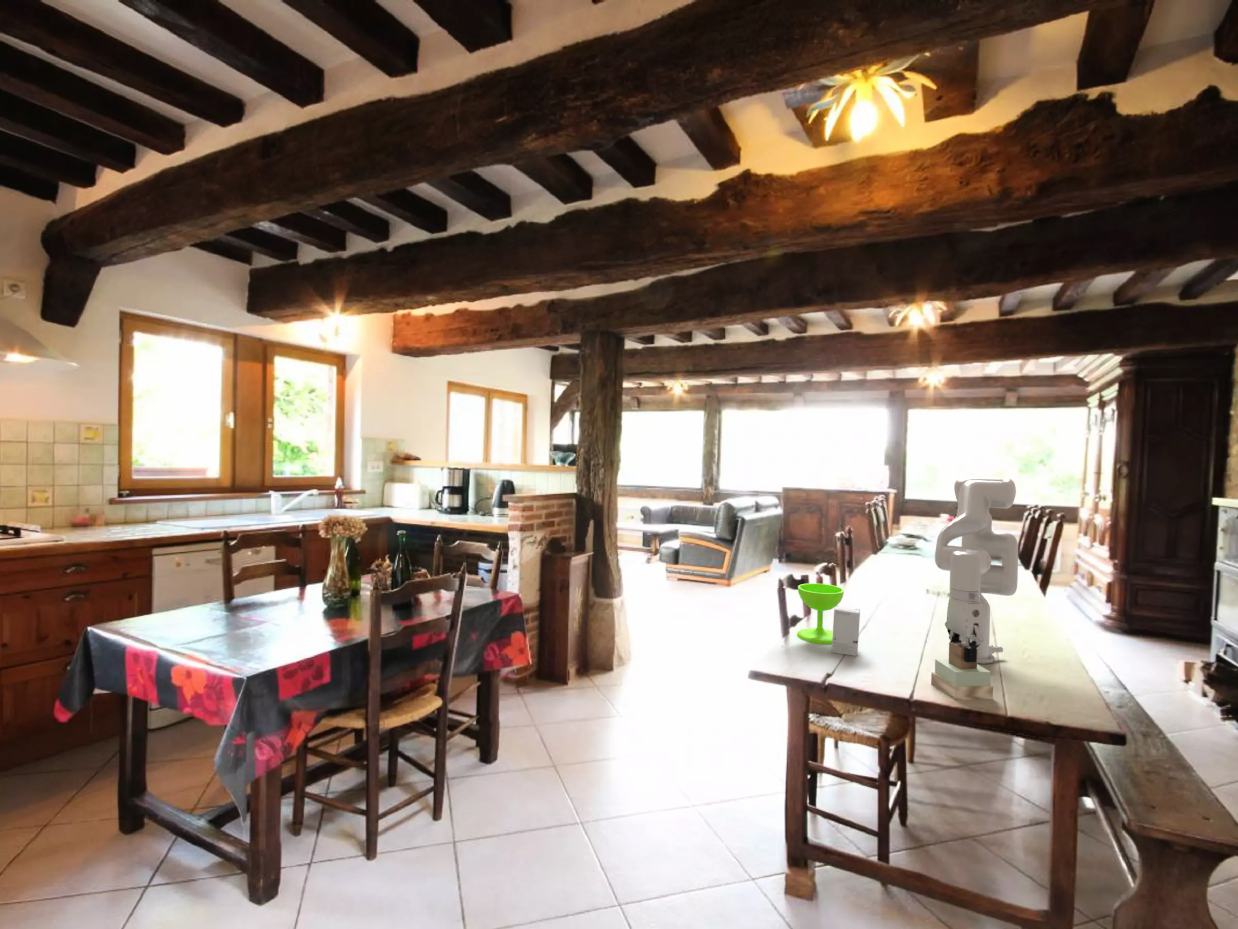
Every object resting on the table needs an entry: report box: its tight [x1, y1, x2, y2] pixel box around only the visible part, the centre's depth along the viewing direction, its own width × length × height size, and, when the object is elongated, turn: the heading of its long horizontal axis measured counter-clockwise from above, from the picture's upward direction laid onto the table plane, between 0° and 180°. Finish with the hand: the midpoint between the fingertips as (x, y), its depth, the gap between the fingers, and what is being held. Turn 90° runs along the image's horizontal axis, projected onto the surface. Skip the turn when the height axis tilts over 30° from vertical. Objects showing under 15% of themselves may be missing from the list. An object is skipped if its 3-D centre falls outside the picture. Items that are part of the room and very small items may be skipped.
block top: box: [934, 658, 992, 686], centre depth 171 cm, size 10×10×4 cm
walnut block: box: [948, 641, 978, 669], centre depth 170 cm, size 5×5×6 cm
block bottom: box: [930, 671, 994, 701], centre depth 171 cm, size 11×11×4 cm
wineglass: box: [796, 582, 845, 645], centre depth 218 cm, size 16×16×18 cm
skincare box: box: [831, 605, 861, 657], centre depth 203 cm, size 8×6×15 cm
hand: (962, 657), depth 170 cm, fingers open, 5 cm apart
